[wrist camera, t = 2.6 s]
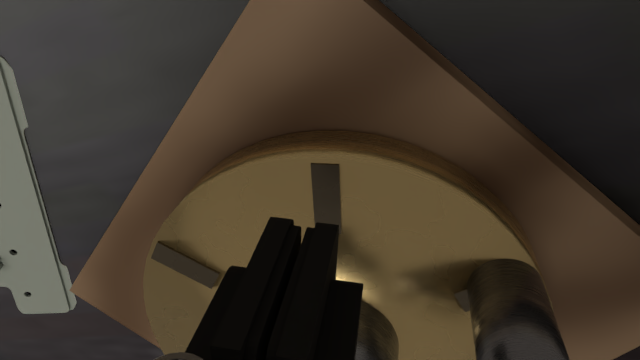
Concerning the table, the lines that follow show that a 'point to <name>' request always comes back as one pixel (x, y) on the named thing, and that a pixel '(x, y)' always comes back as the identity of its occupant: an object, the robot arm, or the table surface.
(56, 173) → the table surface
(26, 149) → the metal bracket
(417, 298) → the rotary dial
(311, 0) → the base plate
